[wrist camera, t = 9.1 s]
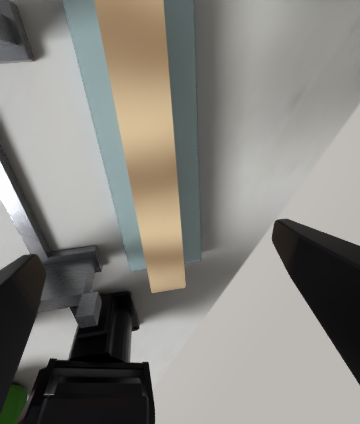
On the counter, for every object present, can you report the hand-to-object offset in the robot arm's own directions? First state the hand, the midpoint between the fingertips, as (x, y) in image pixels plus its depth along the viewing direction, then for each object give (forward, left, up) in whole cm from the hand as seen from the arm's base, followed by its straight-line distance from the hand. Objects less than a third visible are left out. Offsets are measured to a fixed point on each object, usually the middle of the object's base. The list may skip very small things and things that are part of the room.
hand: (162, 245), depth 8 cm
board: (0, 0, -11) cm, 11 cm away
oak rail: (0, 0, -10) cm, 10 cm away
